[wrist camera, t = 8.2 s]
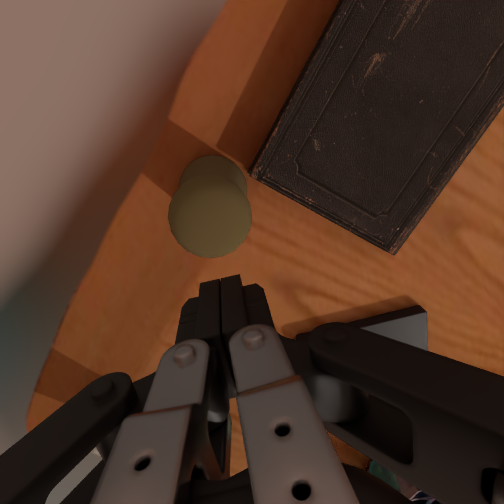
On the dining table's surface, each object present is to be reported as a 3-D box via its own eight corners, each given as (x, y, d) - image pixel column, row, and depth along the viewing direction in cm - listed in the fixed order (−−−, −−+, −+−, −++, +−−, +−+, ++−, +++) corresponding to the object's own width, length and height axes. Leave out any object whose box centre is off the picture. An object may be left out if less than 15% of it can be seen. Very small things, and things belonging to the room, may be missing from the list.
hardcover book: (247, 172, 29) (249, 176, 27) (406, -126, 23) (426, -152, 21) (386, 249, 33) (397, 258, 31) (554, 14, 27) (583, 4, 25)
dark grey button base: (308, 421, 41) (315, 443, 38) (290, 336, 36) (296, 354, 33) (422, 393, 41) (437, 413, 38) (419, 304, 36) (436, 319, 33)
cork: (164, 182, 29) (133, 213, 18) (220, 140, 28) (220, 148, 18) (207, 235, 31) (200, 289, 20) (260, 197, 30) (281, 234, 20)
